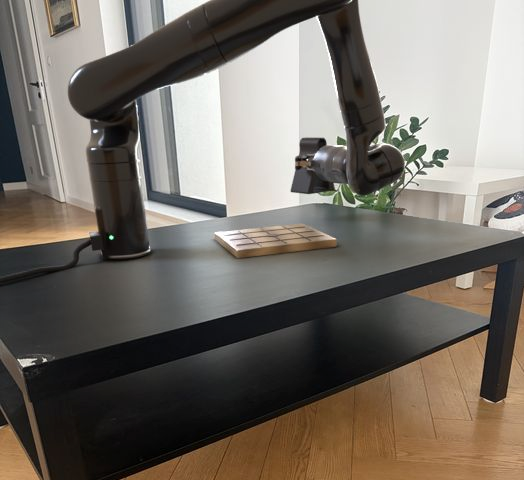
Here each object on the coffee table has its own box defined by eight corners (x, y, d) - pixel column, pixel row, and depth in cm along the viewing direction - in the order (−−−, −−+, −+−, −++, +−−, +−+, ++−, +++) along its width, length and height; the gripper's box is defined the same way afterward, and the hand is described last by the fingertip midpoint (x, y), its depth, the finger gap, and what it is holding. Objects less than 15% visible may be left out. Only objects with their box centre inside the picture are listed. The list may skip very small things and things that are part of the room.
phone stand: (307, 194, 126) (307, 138, 122) (290, 192, 131) (289, 138, 126) (335, 190, 132) (336, 136, 127) (317, 188, 136) (317, 136, 131)
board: (237, 258, 101) (236, 249, 101) (215, 239, 117) (214, 231, 116) (336, 246, 106) (336, 238, 106) (302, 230, 122) (302, 222, 122)
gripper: (368, 143, 116) (334, 141, 131) (306, 147, 112) (278, 144, 128) (366, 180, 119) (333, 174, 134) (306, 185, 115) (279, 177, 131)
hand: (306, 159), depth 131 cm, fingers closed on phone stand, 3 cm apart
